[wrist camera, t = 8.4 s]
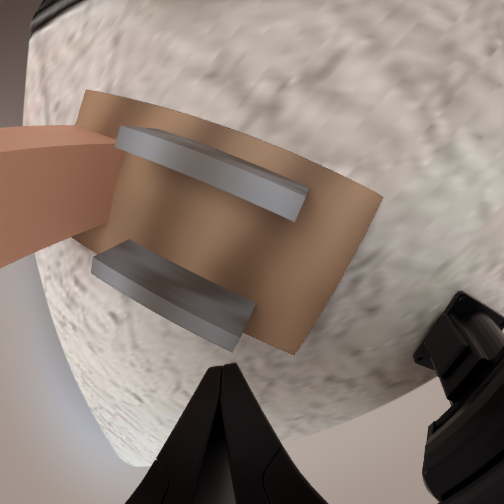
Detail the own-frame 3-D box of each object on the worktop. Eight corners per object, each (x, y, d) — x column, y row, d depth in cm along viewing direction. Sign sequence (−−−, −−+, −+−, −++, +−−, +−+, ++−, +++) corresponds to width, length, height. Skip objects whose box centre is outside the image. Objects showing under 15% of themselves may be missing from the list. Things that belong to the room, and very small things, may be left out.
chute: (378, 193, 16) (401, 209, 11) (296, 343, 21) (286, 394, 16) (98, 91, 18) (48, 84, 13) (69, 224, 23) (24, 241, 18)
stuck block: (126, 143, 17) (-36, 158, 6) (108, 222, 20) (-30, 283, 9) (73, 125, 18) (-61, 135, 7) (60, 195, 20) (-62, 234, 9)
